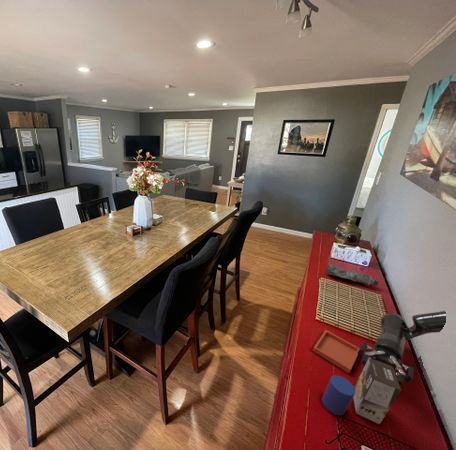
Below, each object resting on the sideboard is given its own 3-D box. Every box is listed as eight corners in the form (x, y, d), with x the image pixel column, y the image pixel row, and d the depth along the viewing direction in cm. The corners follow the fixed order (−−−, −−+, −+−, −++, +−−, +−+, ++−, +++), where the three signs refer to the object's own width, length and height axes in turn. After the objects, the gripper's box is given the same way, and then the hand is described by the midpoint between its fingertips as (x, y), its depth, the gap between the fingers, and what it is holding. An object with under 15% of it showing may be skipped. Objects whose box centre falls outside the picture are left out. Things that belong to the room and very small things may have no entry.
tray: (358, 352, 99) (360, 348, 98) (349, 373, 90) (350, 369, 89) (324, 333, 107) (325, 329, 107) (312, 350, 99) (313, 347, 98)
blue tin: (347, 406, 79) (357, 386, 75) (341, 420, 75) (352, 400, 71) (325, 391, 84) (334, 371, 80) (318, 403, 80) (327, 383, 76)
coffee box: (380, 425, 74) (402, 391, 68) (355, 413, 77) (374, 380, 71) (374, 399, 81) (393, 366, 75) (351, 389, 84) (367, 356, 78)
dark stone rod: (323, 276, 149) (375, 293, 134) (326, 265, 147) (380, 282, 131) (326, 269, 159) (375, 285, 143) (329, 259, 156) (380, 274, 141)
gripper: (410, 368, 87) (404, 397, 77) (362, 342, 97) (351, 365, 87) (420, 353, 84) (414, 382, 74) (369, 328, 94) (358, 350, 84)
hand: (380, 373), depth 81 cm, fingers open, 8 cm apart
